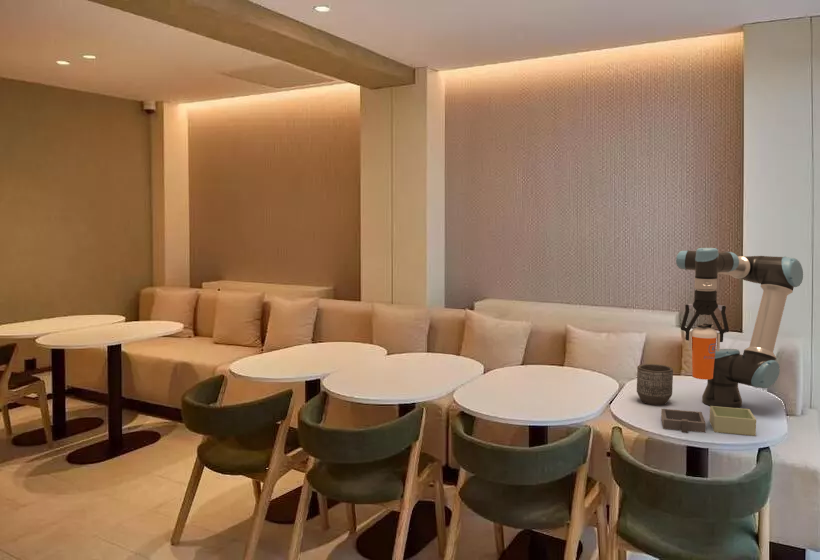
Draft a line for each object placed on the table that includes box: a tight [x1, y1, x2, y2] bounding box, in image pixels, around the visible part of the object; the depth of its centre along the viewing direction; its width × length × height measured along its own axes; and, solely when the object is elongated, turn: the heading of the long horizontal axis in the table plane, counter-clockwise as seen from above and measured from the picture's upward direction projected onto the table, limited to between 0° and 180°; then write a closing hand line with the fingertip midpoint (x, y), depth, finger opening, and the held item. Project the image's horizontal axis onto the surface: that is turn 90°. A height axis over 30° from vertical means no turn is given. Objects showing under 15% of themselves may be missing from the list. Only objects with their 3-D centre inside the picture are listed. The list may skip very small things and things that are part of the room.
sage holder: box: [709, 405, 757, 437], centre depth 239 cm, size 14×14×6 cm
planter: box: [636, 363, 674, 406], centre depth 273 cm, size 14×14×15 cm
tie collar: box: [660, 408, 707, 434], centre depth 243 cm, size 17×14×4 cm
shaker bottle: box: [690, 322, 718, 381], centre depth 240 cm, size 9×9×20 cm
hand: (703, 349), depth 240 cm, fingers closed on shaker bottle, 9 cm apart
